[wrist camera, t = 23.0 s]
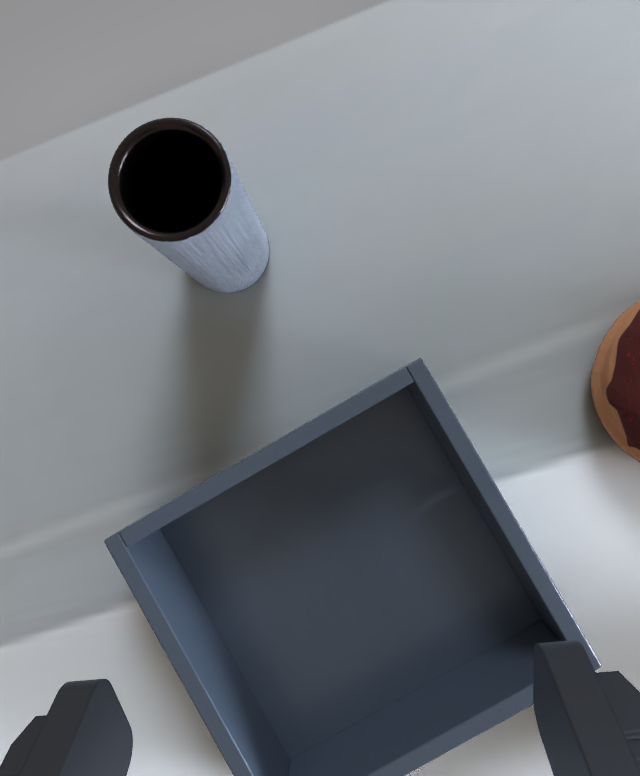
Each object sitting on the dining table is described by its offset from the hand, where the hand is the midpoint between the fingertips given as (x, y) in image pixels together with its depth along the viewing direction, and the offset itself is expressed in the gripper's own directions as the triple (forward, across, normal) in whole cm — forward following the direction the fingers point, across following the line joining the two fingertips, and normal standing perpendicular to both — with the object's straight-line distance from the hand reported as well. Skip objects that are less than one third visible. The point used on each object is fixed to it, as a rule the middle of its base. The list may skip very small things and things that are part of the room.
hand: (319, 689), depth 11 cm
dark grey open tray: (+16, +1, +12) cm, 20 cm away
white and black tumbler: (+24, +5, -4) cm, 24 cm away
